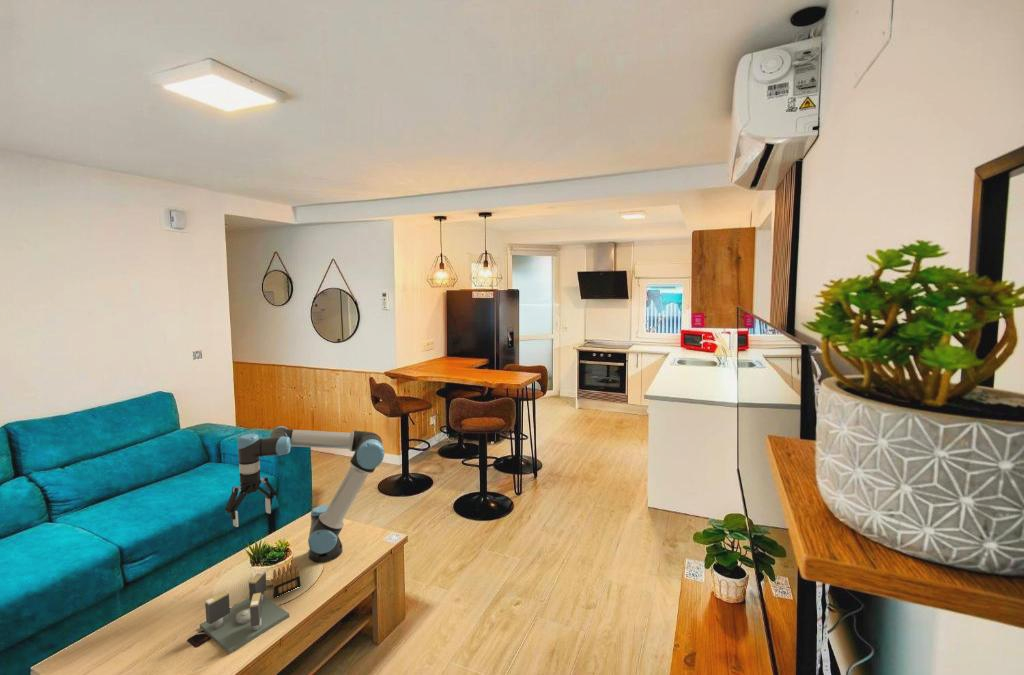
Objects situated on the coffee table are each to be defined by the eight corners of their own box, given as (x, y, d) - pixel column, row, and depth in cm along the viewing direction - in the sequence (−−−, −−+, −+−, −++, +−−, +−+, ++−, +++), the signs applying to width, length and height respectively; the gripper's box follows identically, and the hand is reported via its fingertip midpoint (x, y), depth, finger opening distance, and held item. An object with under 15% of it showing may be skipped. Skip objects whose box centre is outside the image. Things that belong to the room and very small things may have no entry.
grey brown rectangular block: (257, 609, 181) (255, 581, 179) (249, 609, 181) (248, 581, 179) (267, 597, 187) (266, 570, 186) (260, 597, 188) (259, 570, 186)
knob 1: (226, 618, 176) (224, 590, 174) (230, 621, 174) (229, 592, 173) (206, 630, 170) (204, 600, 168) (211, 633, 168) (209, 603, 167)
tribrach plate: (259, 595, 191) (258, 586, 190) (289, 616, 179) (288, 607, 178) (200, 628, 173) (199, 617, 172) (229, 654, 161) (228, 643, 160)
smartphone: (185, 639, 167) (228, 614, 180) (186, 641, 167) (228, 616, 180) (196, 647, 163) (239, 621, 176) (196, 649, 163) (239, 622, 176)
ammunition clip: (274, 598, 189) (272, 571, 188) (272, 596, 191) (271, 569, 189) (301, 586, 197) (299, 560, 195) (299, 584, 198) (298, 558, 197)
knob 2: (254, 622, 174) (252, 593, 172) (263, 620, 175) (261, 591, 173) (250, 635, 167) (249, 605, 166) (260, 633, 168) (258, 603, 167)
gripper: (273, 460, 206) (276, 505, 209) (213, 479, 186) (216, 529, 188) (283, 463, 202) (285, 509, 205) (222, 483, 182) (225, 534, 184)
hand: (252, 519), depth 196 cm, fingers open, 13 cm apart
